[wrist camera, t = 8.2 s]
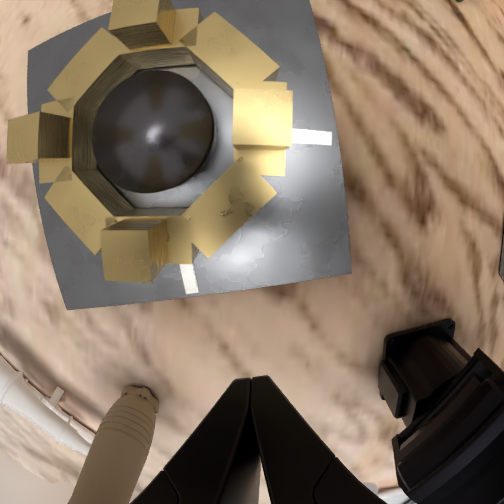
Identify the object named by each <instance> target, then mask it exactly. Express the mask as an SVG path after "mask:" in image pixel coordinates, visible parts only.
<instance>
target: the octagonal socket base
mask: <svg viewBox="0 0 504 504" xmlns="http://www.w3.org/2000/svg"><path fill="white" fill-rule="evenodd" d="M108 31H109V32H110V33H112V34H113V36H112V35H111V34H110V33H108V32H107V31H106V30H105V29H104V28H102V27H101V28H100V29H99V30H98V31H97V32H96V33H95V35H94V36H93V37H92V38H91V39H90V40H89V41H88V42H87V43H86V44H85V45H84V46H83V47H82V48H81V49H80V51H79V52H78V53H77V54H76V55H75V56H74V57H73V59H72V60H71V61H70V62H69V63H68V64H67V66H66V67H65V68H64V69H63V70H62V72H61V73H60V74H59V75H58V77H57V78H56V79H55V80H54V82H53V83H52V84H51V86H50V87H49V88H48V91H49V92H50V93H51V95H52V96H53V97H54V98H55V99H56V100H57V101H53V102H49V103H45V104H42V106H41V112H40V111H39V112H36V113H32V114H28V115H24V116H21V117H17V118H14V119H10V120H8V133H7V164H18V163H36V162H39V184H40V183H50V182H54V183H53V185H52V186H51V188H50V189H49V191H48V192H47V194H46V195H45V197H44V198H45V199H46V200H47V202H48V203H49V204H50V205H51V206H52V208H53V209H54V210H55V211H56V212H57V214H58V215H59V216H60V217H61V218H62V219H63V221H64V222H65V223H66V224H67V225H68V226H69V227H70V229H71V230H72V231H73V232H74V233H75V234H76V235H77V236H78V237H79V239H80V240H81V241H82V242H83V243H84V244H85V245H86V246H87V247H88V248H89V250H90V251H91V252H92V253H93V254H94V255H96V254H98V253H100V252H101V251H102V261H103V270H104V278H105V281H122V282H142V283H152V282H153V280H154V279H155V278H156V277H157V275H158V274H159V273H160V272H161V271H162V269H163V268H164V267H165V266H166V264H193V262H194V260H195V258H196V257H197V255H198V253H199V252H200V251H201V252H202V253H203V254H204V255H205V256H206V257H207V258H209V257H210V256H211V255H212V254H213V253H214V252H215V251H216V250H217V249H218V248H219V247H220V246H221V245H222V244H224V243H225V242H226V241H227V240H228V239H229V238H230V237H231V236H232V235H233V234H234V233H235V232H236V231H237V230H238V229H239V228H240V227H241V226H242V225H243V224H245V223H246V222H247V221H248V220H249V219H250V218H251V217H252V216H253V215H254V214H255V213H256V212H257V211H258V210H259V209H260V208H262V207H263V206H264V205H265V204H266V203H267V202H268V201H269V200H270V199H271V198H272V197H273V196H274V195H275V194H277V192H276V191H275V190H274V189H273V188H272V187H271V186H270V185H269V184H268V183H267V182H266V181H265V180H264V179H263V177H262V176H261V175H272V176H285V154H286V149H287V148H289V147H291V146H292V110H293V90H287V82H275V81H276V78H277V75H278V71H279V68H280V66H279V65H278V64H276V63H275V62H274V61H273V60H272V59H271V58H270V57H269V56H268V55H267V54H265V53H264V52H263V51H262V50H261V49H260V48H259V47H258V46H256V45H255V44H254V43H253V42H252V41H251V40H249V39H248V38H247V37H246V36H245V35H243V34H242V33H241V32H240V31H239V30H237V29H236V28H235V27H234V26H232V25H231V24H230V23H229V22H227V21H226V20H225V19H224V18H222V17H221V16H220V15H218V14H217V13H216V12H214V13H212V14H211V15H210V16H208V17H207V18H206V19H205V20H203V17H202V14H201V11H200V9H199V8H187V9H177V10H175V8H174V6H173V4H172V2H171V0H114V2H113V7H112V12H111V17H110V22H109V28H108ZM190 64H196V65H197V66H198V67H199V68H200V69H201V70H203V71H204V72H205V73H206V74H207V75H208V76H209V77H210V78H211V79H213V80H214V81H215V82H216V83H217V84H218V85H219V86H220V87H221V88H222V89H223V90H225V91H226V92H227V93H228V94H229V95H230V96H231V97H232V98H233V134H232V145H233V146H234V161H233V165H231V166H230V167H229V168H228V169H227V170H226V171H225V172H224V173H223V174H222V175H221V176H220V177H219V178H218V179H217V180H216V181H215V182H214V183H213V184H212V185H211V186H210V187H209V188H208V189H207V190H206V191H205V192H204V193H203V194H202V195H201V196H200V197H199V198H198V199H197V200H196V201H195V202H194V203H193V204H192V205H191V206H190V207H189V208H159V209H134V208H133V207H132V206H131V205H130V204H129V203H128V202H127V201H126V200H125V199H124V198H123V197H122V196H121V195H120V194H119V193H118V192H117V191H116V190H115V188H114V187H113V186H112V185H111V184H110V183H109V182H108V181H107V180H106V179H105V178H104V177H103V176H102V175H101V173H100V172H99V171H98V170H97V161H96V158H95V155H94V152H93V147H92V129H93V123H94V120H95V116H96V114H97V111H98V109H99V107H100V105H101V103H102V102H103V100H104V99H105V97H106V96H107V95H108V94H109V92H110V91H111V90H112V89H113V88H114V87H116V86H117V85H118V84H119V83H121V82H122V81H124V80H125V79H127V78H129V77H131V76H132V75H133V74H134V73H135V72H136V71H137V70H138V69H146V68H155V67H165V66H176V65H190Z"/></svg>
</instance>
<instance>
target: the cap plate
mask: <svg viewBox="0 0 504 504" xmlns="http://www.w3.org/2000/svg"><path fill="white" fill-rule="evenodd" d="M171 2H172V4H173V6H174V8H175V10H177V9H187V8H199V9H200V11H201V14H202V17H203V20H205V19H206V18H207V17H208V16H210V15H211V14H212V13H214V12H216V13H217V14H218V15H220V16H221V17H222V18H224V19H225V20H226V21H227V22H229V23H230V24H231V25H232V26H234V27H235V28H236V29H237V30H239V31H240V32H241V33H242V34H243V35H245V36H246V37H247V38H248V39H249V40H251V41H252V42H253V43H254V44H255V45H256V46H258V47H259V48H260V49H261V50H262V51H263V52H264V53H265V54H267V55H268V56H269V57H270V58H271V59H272V60H273V61H274V62H275V63H276V64H278V65H279V66H280V68H279V71H278V75H277V78H276V81H275V82H287V90H293V110H292V146H291V147H289V148H287V149H286V154H285V176H272V175H261V176H262V177H263V179H264V180H265V181H266V182H267V183H268V184H269V185H270V186H271V187H272V188H273V189H274V190H275V191H276V192H277V194H275V195H274V196H273V197H272V198H271V199H270V200H269V201H268V202H267V203H266V204H265V205H264V206H263V207H262V208H260V209H259V210H258V211H257V212H256V213H255V214H254V215H253V216H252V217H251V218H250V219H249V220H248V221H247V222H246V223H245V224H243V225H242V226H241V227H240V228H239V229H238V230H237V231H236V232H235V233H234V234H233V235H232V236H231V237H230V238H229V239H228V240H227V241H226V242H225V243H224V244H222V245H221V246H220V247H219V248H218V249H217V250H216V251H215V252H214V253H213V254H212V255H211V256H210V257H209V258H207V257H206V256H205V255H204V254H203V253H202V252H201V251H200V252H199V253H198V255H197V257H196V258H195V260H194V262H193V264H166V266H165V267H164V268H163V269H162V271H161V272H160V273H159V274H158V275H157V277H156V278H155V279H154V280H153V282H152V283H142V282H122V281H105V278H104V270H103V261H102V251H101V252H100V253H98V254H96V255H94V254H93V253H92V252H91V251H90V250H89V248H88V247H87V246H86V245H85V244H84V243H83V242H82V241H81V240H80V239H79V237H78V236H77V235H76V234H75V233H74V232H73V231H72V230H71V229H70V227H69V226H68V225H67V224H66V223H65V222H64V221H63V219H62V218H61V217H60V216H59V215H58V214H57V212H56V211H55V210H54V209H53V208H52V206H51V205H50V204H49V203H48V202H47V200H46V199H45V198H44V197H45V195H46V194H47V192H48V191H49V189H50V188H51V186H52V185H53V183H54V182H50V183H40V184H39V162H36V163H32V165H33V172H34V179H35V186H36V192H37V198H38V203H39V208H40V214H41V218H42V223H43V228H44V232H45V237H46V241H47V245H48V249H49V253H50V256H51V260H52V264H53V267H54V271H55V274H56V278H57V281H58V284H59V288H60V291H61V294H62V297H63V300H64V303H65V306H66V309H67V310H74V309H85V308H95V307H106V306H115V305H125V304H134V303H144V302H153V301H161V300H170V299H178V298H186V297H194V296H202V295H210V294H218V293H225V292H232V291H240V290H247V289H254V288H261V287H268V286H275V285H281V284H288V283H295V282H301V281H307V280H314V279H320V278H326V277H332V276H338V275H344V274H350V273H352V272H351V254H350V240H349V227H348V215H347V205H346V195H345V186H344V177H343V169H342V161H341V154H340V147H339V140H338V133H337V127H336V121H335V115H334V109H333V103H332V98H331V92H330V87H329V82H328V77H327V72H326V67H325V62H324V58H323V53H322V49H321V44H320V40H319V36H318V32H317V28H316V24H315V20H314V16H313V12H312V8H311V5H310V1H309V0H171ZM110 17H111V12H110V13H107V14H105V15H102V16H100V17H97V18H95V19H92V20H90V21H87V22H85V23H83V24H80V25H78V26H76V27H74V28H72V29H69V30H67V31H65V32H63V33H61V34H59V35H57V36H55V37H53V38H51V39H49V40H47V41H45V42H43V43H42V44H40V45H38V46H36V47H34V48H32V49H31V50H29V51H28V70H27V99H28V114H32V113H36V112H39V111H40V112H41V106H42V104H45V103H49V102H53V101H57V100H56V99H55V98H54V97H53V96H52V95H51V93H50V92H49V91H48V88H49V87H50V86H51V84H52V83H53V82H54V80H55V79H56V78H57V77H58V75H59V74H60V73H61V72H62V70H63V69H64V68H65V67H66V66H67V64H68V63H69V62H70V61H71V60H72V59H73V57H74V56H75V55H76V54H77V53H78V52H79V51H80V49H81V48H82V47H83V46H84V45H85V44H86V43H87V42H88V41H89V40H90V39H91V38H92V37H93V36H94V35H95V33H96V32H97V31H98V30H99V29H100V28H101V27H102V28H104V29H105V30H106V31H107V32H108V33H110V32H109V31H108V28H109V22H110ZM110 34H111V35H112V36H113V34H112V33H110ZM232 134H233V98H232V97H231V96H230V95H229V94H228V93H227V92H226V91H225V90H223V89H222V88H221V87H220V86H219V85H218V84H217V83H216V82H215V81H214V80H213V79H211V78H210V77H209V76H208V75H207V74H206V73H205V72H204V71H203V70H201V69H200V68H199V67H198V66H197V65H196V64H190V65H176V66H165V67H155V68H146V69H138V70H137V71H136V72H135V73H134V74H133V75H132V76H131V77H129V78H127V79H125V80H124V81H122V82H121V83H119V84H118V85H117V86H116V87H114V88H113V89H112V90H111V91H110V92H109V94H108V95H107V96H106V97H105V99H104V100H103V102H102V103H101V105H100V107H99V109H98V111H97V114H96V116H95V120H94V123H93V129H92V147H93V152H94V155H95V158H96V161H97V170H98V171H99V172H100V173H101V175H102V176H103V177H104V178H105V179H106V180H107V181H108V182H109V183H110V184H111V185H112V186H113V187H114V188H115V190H116V191H117V192H118V193H119V194H120V195H121V196H122V197H123V198H124V199H125V200H126V201H127V202H128V203H129V204H130V205H131V206H132V207H133V208H134V209H159V208H189V207H190V206H191V205H192V204H193V203H194V202H195V201H196V200H197V199H198V198H199V197H200V196H201V195H202V194H203V193H204V192H205V191H206V190H207V189H208V188H209V187H210V186H211V185H212V184H213V183H214V182H215V181H216V180H217V179H218V178H219V177H220V176H221V175H222V174H223V173H224V172H225V171H226V170H227V169H228V168H229V167H230V166H231V165H233V161H234V146H233V145H232Z"/></svg>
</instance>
